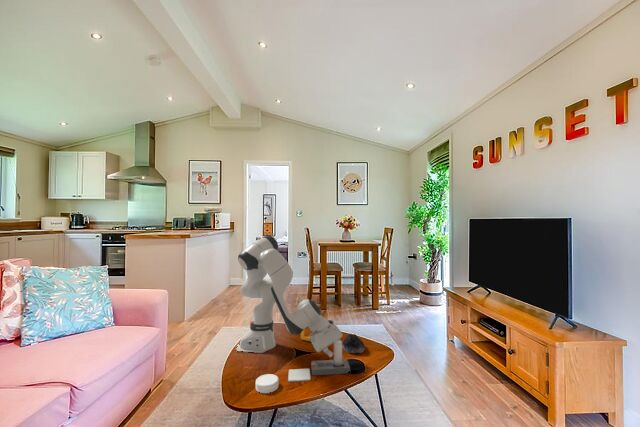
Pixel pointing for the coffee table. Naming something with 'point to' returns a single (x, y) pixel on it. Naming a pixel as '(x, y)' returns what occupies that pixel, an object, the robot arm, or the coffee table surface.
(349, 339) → the crystal cluster
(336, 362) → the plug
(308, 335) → the bracket
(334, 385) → the coffee table surface
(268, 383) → the coaster
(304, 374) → the mat
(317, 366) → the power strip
